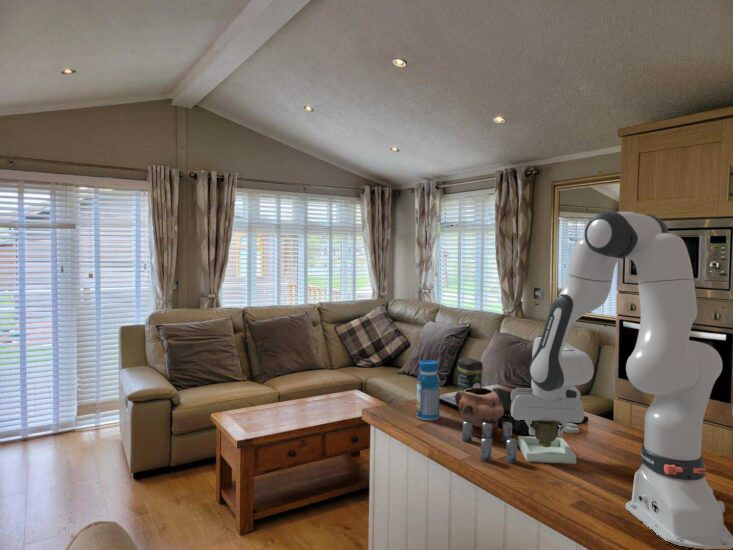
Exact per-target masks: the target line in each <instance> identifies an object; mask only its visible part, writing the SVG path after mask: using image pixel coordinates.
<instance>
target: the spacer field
mask: <svg viewBox="0 0 733 550" xmlns="http://www.w3.org/2000/svg"><path fill="white" fill-rule="evenodd" d="M472 430H473V422H472V421H469V420H464V421H463V420H462V441H463V442H464V443H467V444H468V443H472V442H473V434H472ZM512 436H513V423H512V422H508V421H503V422H501V444H503V445H506V446H505V447H506V448H505V461H506V463H508V464H517V463H518V439H516V438H513V437H512ZM480 440H481V441H480V460H481V461H482V462H485V463H490V462H492V459H493V458H492V457H493V436H492V422H489V421H483V422H482V436H481V439H480Z"/></svg>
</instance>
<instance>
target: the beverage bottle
mask: <svg viewBox="0 0 733 550" xmlns="http://www.w3.org/2000/svg"><path fill="white" fill-rule="evenodd" d="M418 369H419V370H418V371H419V374H418V376H417V379H416V382H417V384H416V388H415V389H416V412H415V413H416V415H415V416H416V417H417V418H418V419H420V420H422V421H437V420H438V419H439V418H440V393H441V386H440V383H441V379H440V377H439V375H438V372H439V362H438V361H437V360H432V359H422V360H420V361H419V363H418Z"/></svg>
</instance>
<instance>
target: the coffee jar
mask: <svg viewBox="0 0 733 550" xmlns="http://www.w3.org/2000/svg"><path fill="white" fill-rule="evenodd" d="M483 371H484V365H483V362H482V361H481V360H478V359H474V358H471V357H469V356H466V357H460V358H459V359H458V360H457V372H458V373H457V375H458V378H457V379H458V380H457V392H458V391H464V390H465V389H469V388H483V387H482V385H483V384H482V378H483V377H482V376H483ZM461 398H462V396H460V398H459V402H460V400H461Z"/></svg>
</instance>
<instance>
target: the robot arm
mask: <svg viewBox="0 0 733 550" xmlns="http://www.w3.org/2000/svg"><path fill="white" fill-rule="evenodd" d="M574 246H575V247H574V248H573V251H572V254H571V257H570V260H569V264H568V269H567V274H566V278H565V282H564V284H563V287H562V289H561V291H560V293H559V294H558V296H557V297H556V298H555V299H554V300H553V303H552V304H551V307H550V308H549V309H550V310H549V311H548V315H547V318H546V321H545V324H544V328H543V331H542V334H541V335H538V336H536V337H535V339H534V341H533V346H532V355H531V356H532V357H531V361H530V363H529V369H528V370H529V371H528V372H529V375H530V378H531V382H530V383H531V385H530V386H531V387H516V388H513V389H512V390H511V391H510V401H511V404H510V413H511V416H512V417H513V418H514V419H513V420H515V421H520V420H525V421H524V422H525V423H526V425H527V427H528V434H529V436H535V430H534V428H533V426H531V425H533V423H532V421H553V422H559V423H561V424H562V425H561V426H560V428H559V429H558V434H557V437H559V438H563V437H564V432H565V431H564V430H565V428H566V427H567V423H574V424H575V423H576V424H577V423H582V422H583V421H584V420H585V419H584V416H585V415H584V414H585V413H584V412H585V411H584V404H583V402H582V400H581V399H580V398H581V395H582V394H581V392H580V390H579V389H577V387H575V386H580V385H584V384H588V383H589V382H591V380H592V379H593V377H594V374H595V365H594V361H593V358H592V357H591V356H590V355H589V354H588V353H587V352H586V351H583V350H580V349H578V348H576V347H574V346H573V345H571V344H570V343H569V342H567V341H566V340H567V337H568V334H569V332H570V329H571V327H572V326H573V324H575V322H576V321H578V319H580V318H581V317H583V316H585V315H587V314H589V313H591V312H593V311H594V310H597V309H598V308H601V306H602V305H604V304H605V303H606V301H607V300H608V297H609V295H610V293H611V288H612V283H613V278H614V272H615V268H616V265H617V263H618V262H619V261H620V260H622V259H625V258H627V259H630V260H631V261H632V262H633V263H634V265H635V269H636V274H637V275H636V276H637V283H638V287H637V288H638V294H639V295H638V296H639V307H640V308H639V310H640V322H639V329H638V334H637V339H636V343H635V347H634V349H633V351H632V352H631V355H630V356H628V358H627V361H626V364H625V371H626V376H627V379H628V380H629V382H630V383H631V385H632V386H633V387H634V388H635V389H636V390H638V391H640V392H642V393H645V394H648V395H649V394H650V395H654V398H653V400H652V402H651V403H650V405H649V406H648V407H647V408H646V411H645V415H644V434H643V437H644V438H643V439H644V440H643V444H642V445H641V450H640V455H641V457H640V461H641V465H640V466H639V469H637V471H635V473H634V478H633V485H632V494H631V500H630V501H629V500H628V501H627V502H626V503H625V509H626V510H627V511H630V513H631V514H632V515H633V516H634V517H635V518H636V519H638V520H639V521H640V522H641V521H642V522H643V524H644V525H645V526H646V527H647V528H648V527H649V528H648V529H649V530H651V529H652V530H653V531H654V532H655V533H656V534H655V533H654V532H653V531H652V530H651V531H652V532H653V533H654V534H655V535H657V536H658V535H659V536H660V537H661V538H663V539H664V540H665V541H668V542H671V543H673V544H676V545H679V546H685V547H686V546H687V547H694V548H705V549H732V548H733V534H731V532H730V531H729V529H728V528H727V526H726V525H725V524H724V514H723V513H725V512H726V505H725V504H724V502H723V501H720V500H717V499H716V496H715V495H714V489H713V488H712V487H710V486H709V483H708V481H707V479H706V478H705V476H706V474H707V473H706V470H707V468H705V466H706V465H705V462H704V458H703V456H702V454H701V453H702V434H703V423H704V418H705V413H706V410H707V407H708V403H709V400H710V397H711V394H712V390H713V387H714V385H715V383H716V381H717V379H718V378H719V377H720V375H721V373H722V371H723V365H724V364H723V360H722V357H721V355H720V353H719V352H718V350H716V349H715V348H714V347H713V346H711V345H710V344H708V343H704V342H701V341H696V340H690V335H691V330H692V327H693V323H694V321H695V320H696V319H697V317H698V305H697V304H698V303H697V294H696V286H695V280H694V279H695V278H694V273H693V267H692V262H691V258H690V254H689V252H688V247H687V245H686V243H685V241H684V239H683V238H681V236H679V235H676V234H674V233H673V234H672V233H670V232H669V229H668V226H667V225H666V223H665V222H664V221H663V220H662V219H661V218H658V217H657V216H654V215H652V214H645V213H643V214H642V213H636V212H635V211H606V212H601V213H598V214H596V215H594V216H593V217H592V218H590V219H589V220H588V222H587V223H586V226H585V229H584V236H582V237H580V238H579V239H578V240H577V241H576V243H575V245H574ZM642 522H641V523H642ZM659 536H658V537H659ZM660 537H659V538H660ZM661 538H660V539H661ZM663 539H662V540H663ZM664 540H663V541H664ZM665 541H664V542H665ZM723 544H725V545H723ZM679 546H678V547H679Z"/></svg>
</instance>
